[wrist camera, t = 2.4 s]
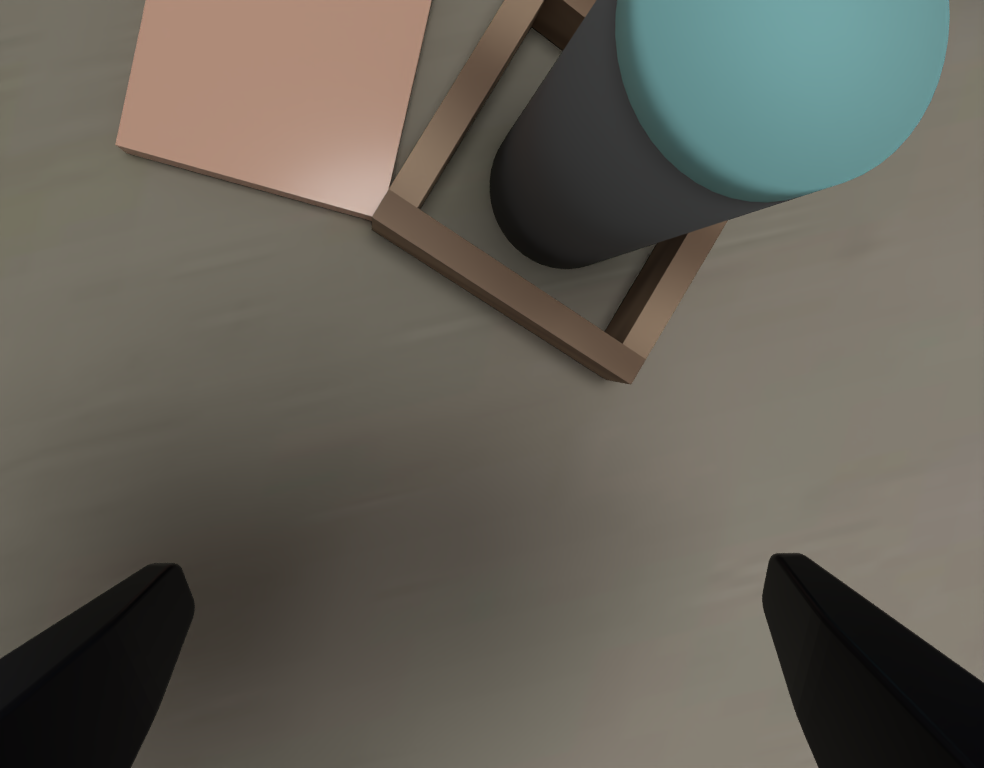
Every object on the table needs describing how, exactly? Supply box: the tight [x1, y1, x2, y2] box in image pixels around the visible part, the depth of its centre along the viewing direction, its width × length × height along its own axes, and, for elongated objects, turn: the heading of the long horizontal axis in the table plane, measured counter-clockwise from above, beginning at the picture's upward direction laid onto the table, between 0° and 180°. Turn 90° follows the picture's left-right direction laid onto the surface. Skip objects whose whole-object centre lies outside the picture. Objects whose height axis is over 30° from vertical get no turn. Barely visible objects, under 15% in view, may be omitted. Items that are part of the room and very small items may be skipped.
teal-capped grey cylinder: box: [490, 0, 950, 269], centre depth 15 cm, size 6×6×12 cm
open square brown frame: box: [372, 0, 728, 384], centre depth 20 cm, size 10×10×2 cm
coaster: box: [116, 0, 432, 221], centre depth 19 cm, size 8×8×1 cm
